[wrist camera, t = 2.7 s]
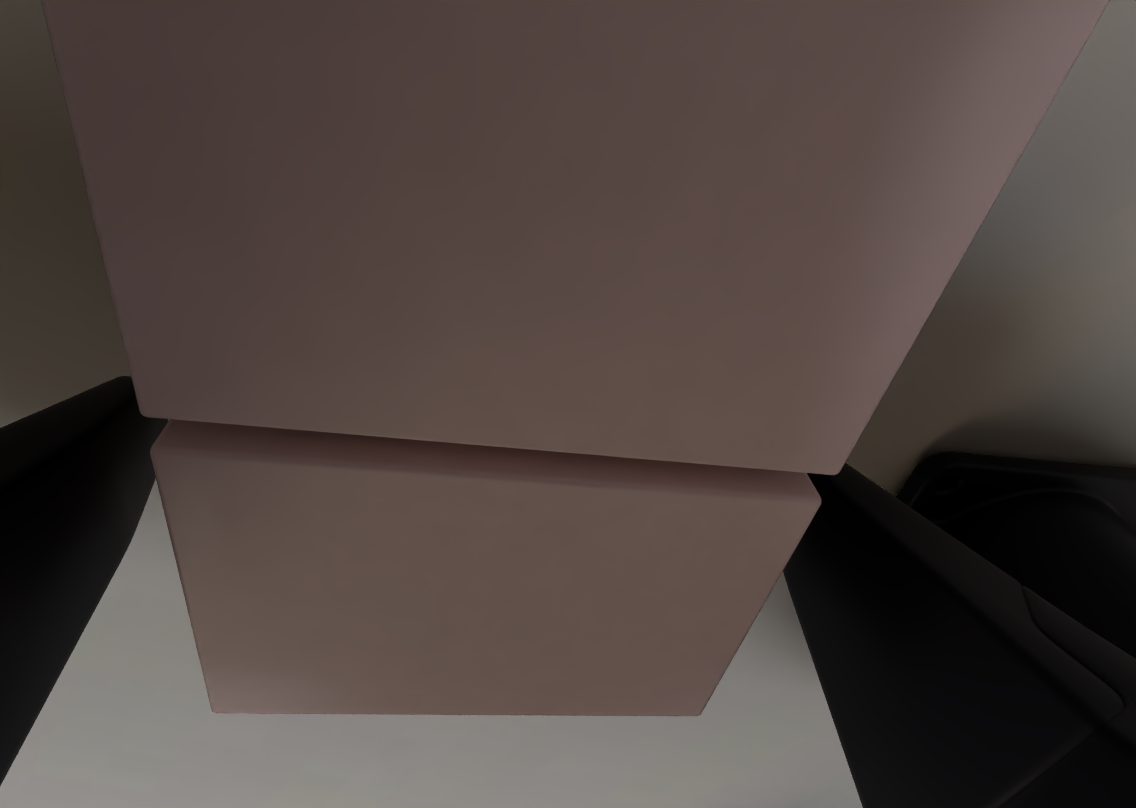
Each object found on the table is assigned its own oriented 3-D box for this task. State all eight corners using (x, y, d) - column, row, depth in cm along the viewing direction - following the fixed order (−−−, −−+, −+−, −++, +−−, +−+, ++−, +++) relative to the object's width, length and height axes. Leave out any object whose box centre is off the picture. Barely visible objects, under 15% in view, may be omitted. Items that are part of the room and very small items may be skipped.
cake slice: (694, 279, 10) (825, 500, 6) (633, 467, 12) (701, 718, 8) (298, 224, 9) (145, 449, 5) (310, 440, 11) (210, 715, 7)
